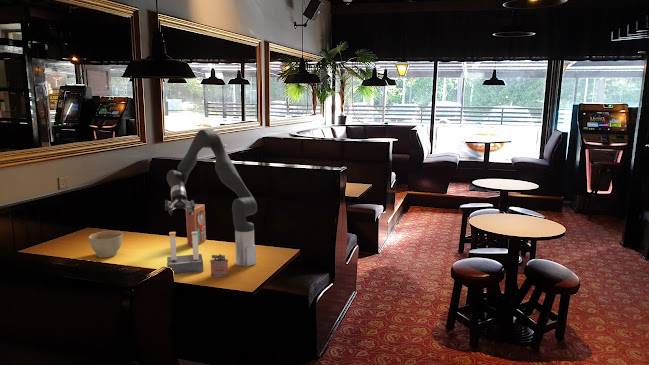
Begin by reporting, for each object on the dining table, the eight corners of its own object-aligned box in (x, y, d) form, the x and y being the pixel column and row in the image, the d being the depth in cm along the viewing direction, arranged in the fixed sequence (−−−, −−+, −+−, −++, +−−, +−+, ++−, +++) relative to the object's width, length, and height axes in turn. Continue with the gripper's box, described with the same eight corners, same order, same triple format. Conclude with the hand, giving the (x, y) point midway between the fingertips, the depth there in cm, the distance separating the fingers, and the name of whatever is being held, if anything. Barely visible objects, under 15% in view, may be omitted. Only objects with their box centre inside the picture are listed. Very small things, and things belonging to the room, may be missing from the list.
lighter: (229, 274, 223) (228, 253, 222) (227, 276, 220) (227, 255, 218) (211, 274, 223) (210, 253, 221) (210, 277, 220) (209, 256, 218)
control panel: (208, 240, 280) (196, 247, 265) (197, 239, 281) (184, 246, 267) (206, 203, 276) (194, 209, 262) (195, 203, 278) (183, 208, 263)
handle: (192, 258, 229) (191, 231, 227) (198, 257, 230) (197, 231, 228) (193, 260, 227) (191, 233, 225) (199, 259, 228) (197, 232, 226)
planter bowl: (93, 262, 241) (92, 241, 239) (87, 254, 254) (86, 234, 252) (127, 256, 250) (125, 235, 249) (119, 248, 263) (118, 229, 261)
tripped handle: (170, 258, 229) (169, 232, 227) (176, 258, 230) (175, 231, 228) (170, 260, 226) (169, 233, 224) (177, 259, 227) (175, 233, 225)
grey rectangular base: (167, 266, 233) (167, 256, 233) (201, 263, 238) (201, 253, 237) (167, 275, 222) (167, 264, 221) (203, 271, 227) (202, 261, 226)
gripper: (164, 188, 243) (165, 207, 230) (193, 189, 248) (196, 207, 235) (163, 201, 247) (164, 220, 234) (192, 201, 252) (195, 220, 239)
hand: (180, 214), depth 235 cm, fingers open, 8 cm apart
